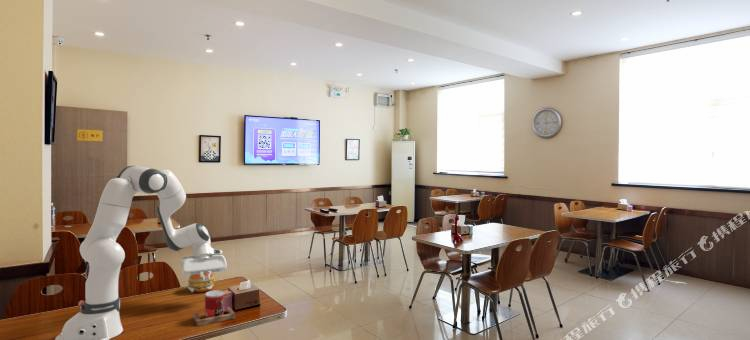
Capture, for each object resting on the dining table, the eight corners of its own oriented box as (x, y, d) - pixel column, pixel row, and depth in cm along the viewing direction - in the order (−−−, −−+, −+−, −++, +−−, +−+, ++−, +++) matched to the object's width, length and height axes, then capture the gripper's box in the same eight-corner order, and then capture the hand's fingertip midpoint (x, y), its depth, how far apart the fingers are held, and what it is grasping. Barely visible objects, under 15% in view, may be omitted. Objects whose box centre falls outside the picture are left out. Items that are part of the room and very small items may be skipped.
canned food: (217, 321, 181) (217, 296, 181) (201, 319, 183) (201, 295, 182) (226, 314, 189) (227, 290, 188) (211, 312, 190) (211, 289, 190)
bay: (197, 325, 176) (197, 321, 176) (193, 317, 184) (193, 313, 184) (235, 318, 185) (235, 314, 185) (230, 310, 193) (230, 306, 193)
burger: (220, 288, 224) (220, 270, 224) (200, 295, 212) (200, 276, 211) (202, 284, 230) (202, 266, 229) (181, 291, 217) (181, 272, 217)
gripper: (181, 254, 197) (183, 279, 190) (225, 250, 209) (229, 274, 201) (179, 261, 201) (182, 286, 193) (222, 256, 212) (227, 280, 205)
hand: (206, 280), depth 197 cm, fingers closed
